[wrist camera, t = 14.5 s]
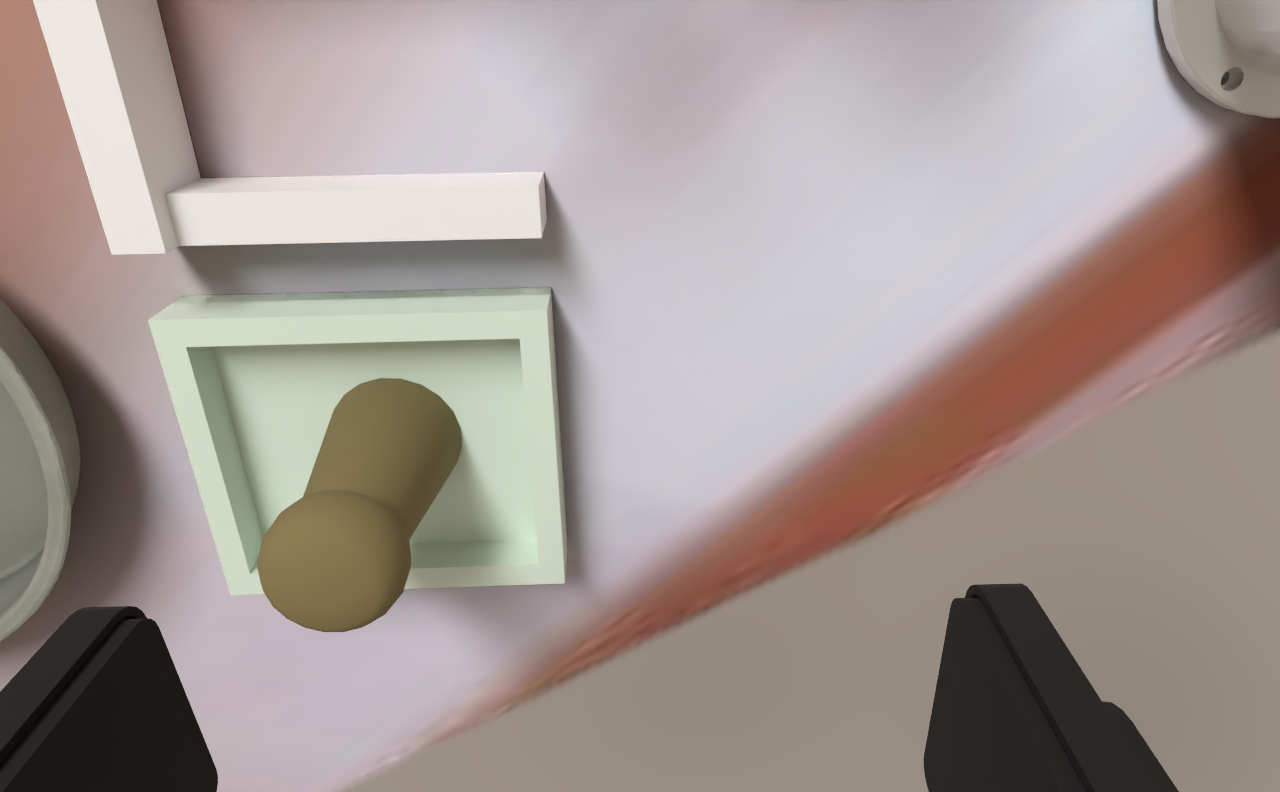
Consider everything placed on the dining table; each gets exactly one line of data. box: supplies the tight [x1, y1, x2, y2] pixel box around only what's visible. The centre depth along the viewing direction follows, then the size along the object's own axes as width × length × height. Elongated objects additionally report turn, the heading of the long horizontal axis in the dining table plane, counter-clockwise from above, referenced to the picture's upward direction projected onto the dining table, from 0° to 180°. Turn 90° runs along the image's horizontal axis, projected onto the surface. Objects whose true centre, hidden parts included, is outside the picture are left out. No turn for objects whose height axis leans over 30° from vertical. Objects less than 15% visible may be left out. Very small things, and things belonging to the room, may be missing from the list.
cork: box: [257, 378, 462, 632], centre depth 32 cm, size 6×6×11 cm
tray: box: [148, 287, 568, 595], centre depth 37 cm, size 16×14×3 cm
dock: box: [33, 0, 547, 255], centre depth 29 cm, size 16×14×4 cm
